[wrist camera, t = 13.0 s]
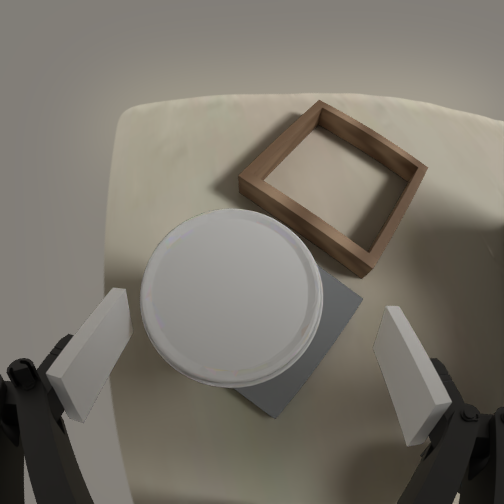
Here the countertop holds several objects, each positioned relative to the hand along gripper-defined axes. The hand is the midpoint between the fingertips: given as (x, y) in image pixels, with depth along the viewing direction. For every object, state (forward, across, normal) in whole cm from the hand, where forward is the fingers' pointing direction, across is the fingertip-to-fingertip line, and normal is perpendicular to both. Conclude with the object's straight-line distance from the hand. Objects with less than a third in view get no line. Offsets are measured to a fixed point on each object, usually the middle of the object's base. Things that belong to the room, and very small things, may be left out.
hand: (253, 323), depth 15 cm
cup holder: (+21, +8, +3) cm, 22 cm away
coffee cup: (+9, -1, -7) cm, 11 cm away
